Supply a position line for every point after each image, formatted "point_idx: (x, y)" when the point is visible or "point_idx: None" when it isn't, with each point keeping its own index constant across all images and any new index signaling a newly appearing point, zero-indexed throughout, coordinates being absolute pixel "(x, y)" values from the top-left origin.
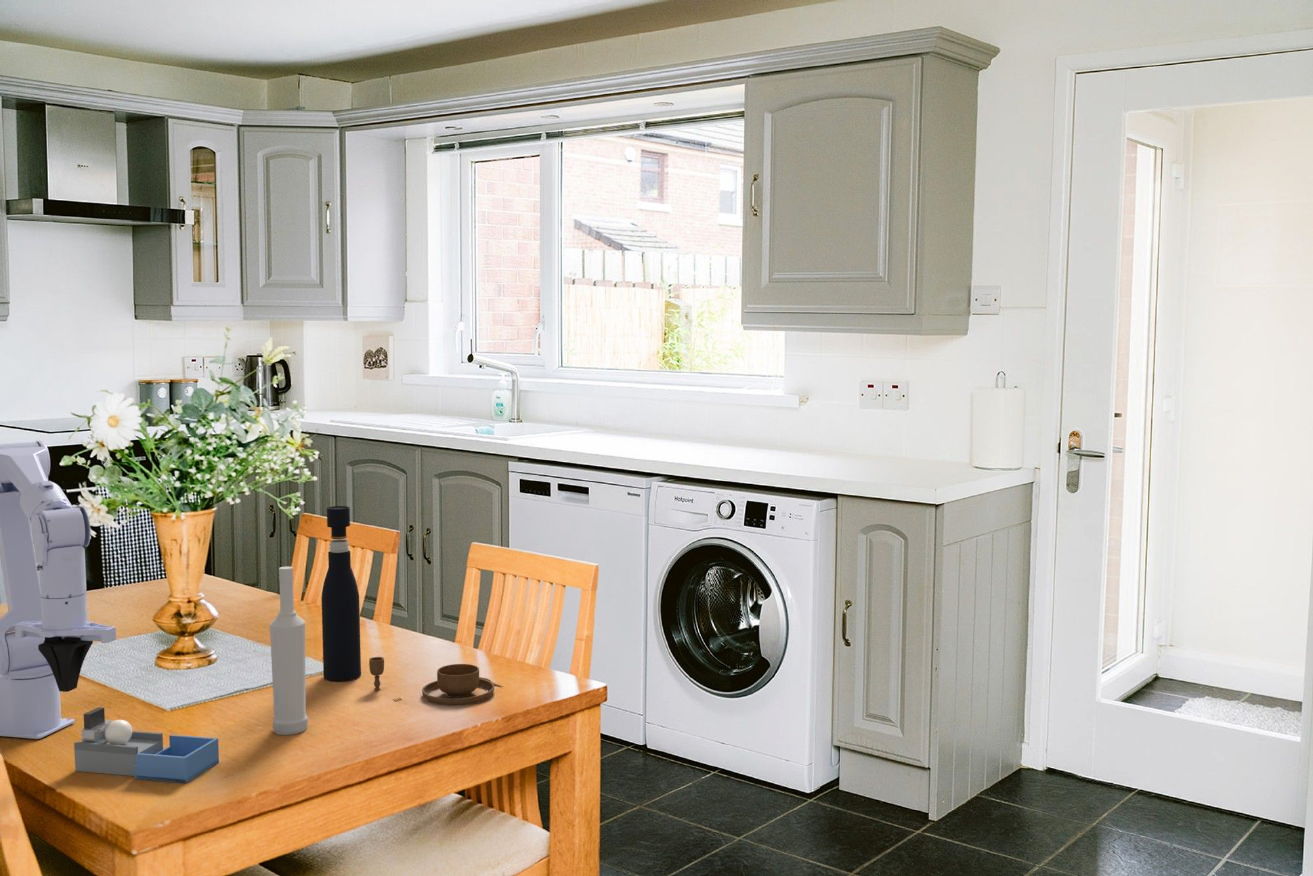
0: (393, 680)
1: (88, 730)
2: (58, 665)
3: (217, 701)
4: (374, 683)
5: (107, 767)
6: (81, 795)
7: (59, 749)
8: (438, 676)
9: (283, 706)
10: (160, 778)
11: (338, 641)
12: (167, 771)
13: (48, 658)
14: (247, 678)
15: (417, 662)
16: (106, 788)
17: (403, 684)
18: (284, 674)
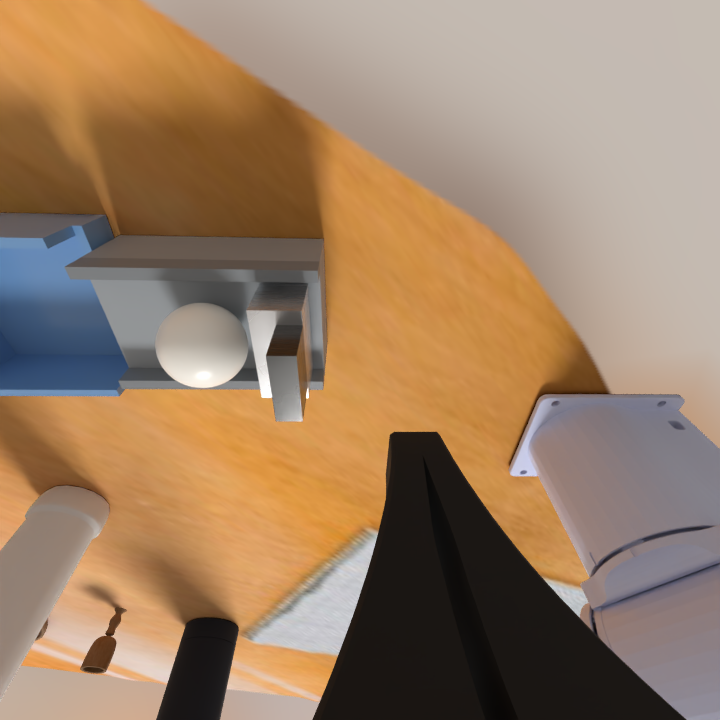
0: (133, 628)
1: (269, 309)
2: (459, 572)
3: (316, 560)
4: (115, 620)
5: (210, 242)
6: (129, 26)
7: (462, 358)
8: None
9: (20, 542)
10: (8, 214)
11: (175, 698)
12: None
13: (554, 630)
14: (338, 611)
15: (163, 657)
16: (111, 119)
17: (105, 622)
18: None
